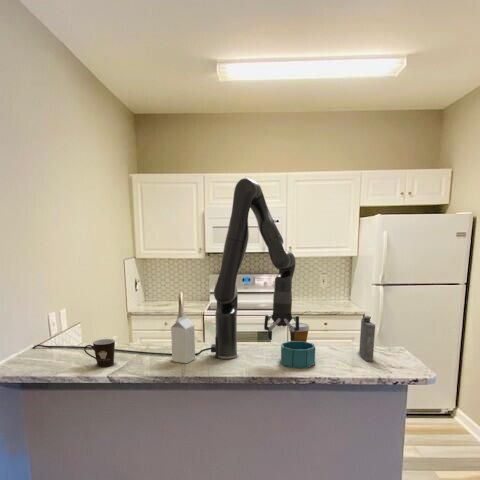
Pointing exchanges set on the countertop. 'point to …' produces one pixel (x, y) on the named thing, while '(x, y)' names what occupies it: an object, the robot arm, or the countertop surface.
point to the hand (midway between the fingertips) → (281, 340)
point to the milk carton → (183, 340)
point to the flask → (367, 339)
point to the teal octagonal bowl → (297, 354)
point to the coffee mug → (103, 352)
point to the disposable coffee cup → (300, 332)
